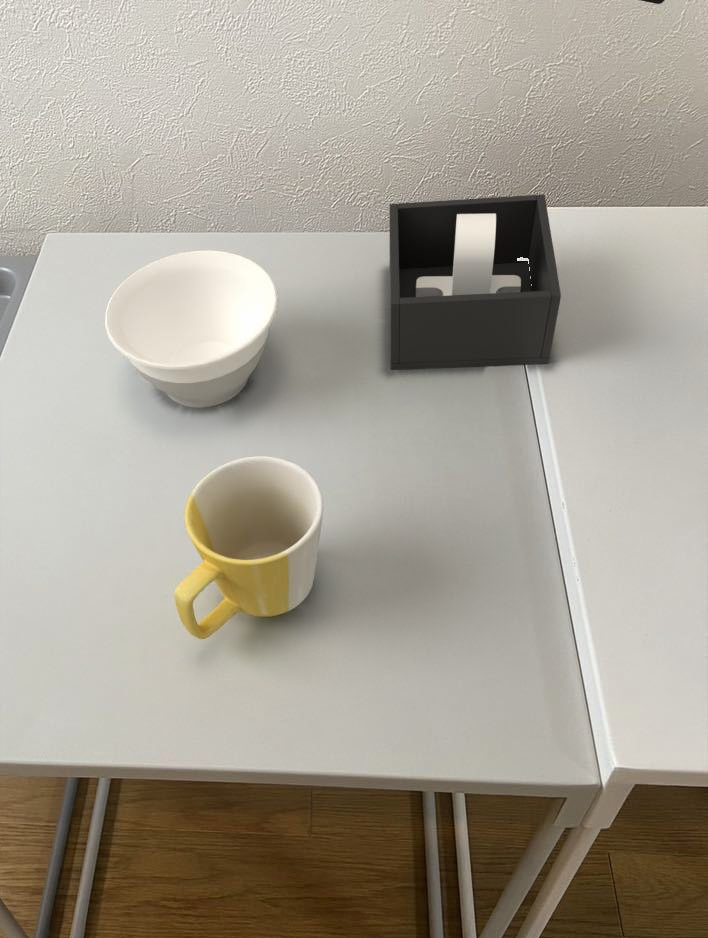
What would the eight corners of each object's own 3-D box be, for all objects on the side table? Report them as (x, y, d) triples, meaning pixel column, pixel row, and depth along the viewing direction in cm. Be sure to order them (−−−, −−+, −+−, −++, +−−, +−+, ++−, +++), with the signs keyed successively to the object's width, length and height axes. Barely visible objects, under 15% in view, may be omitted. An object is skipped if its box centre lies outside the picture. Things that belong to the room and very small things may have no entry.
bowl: (231, 299, 97) (219, 227, 90) (318, 383, 89) (312, 311, 82) (98, 368, 94) (74, 299, 87) (176, 461, 86) (157, 394, 78)
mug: (279, 516, 81) (266, 433, 72) (356, 590, 76) (352, 509, 67) (150, 604, 77) (119, 528, 68) (221, 687, 72) (198, 616, 63)
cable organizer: (518, 328, 89) (531, 237, 80) (413, 328, 90) (416, 238, 82) (518, 291, 91) (531, 200, 83) (416, 292, 93) (418, 202, 85)
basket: (534, 263, 95) (544, 193, 88) (548, 363, 87) (561, 295, 80) (389, 271, 97) (389, 203, 90) (390, 370, 89) (390, 304, 82)
